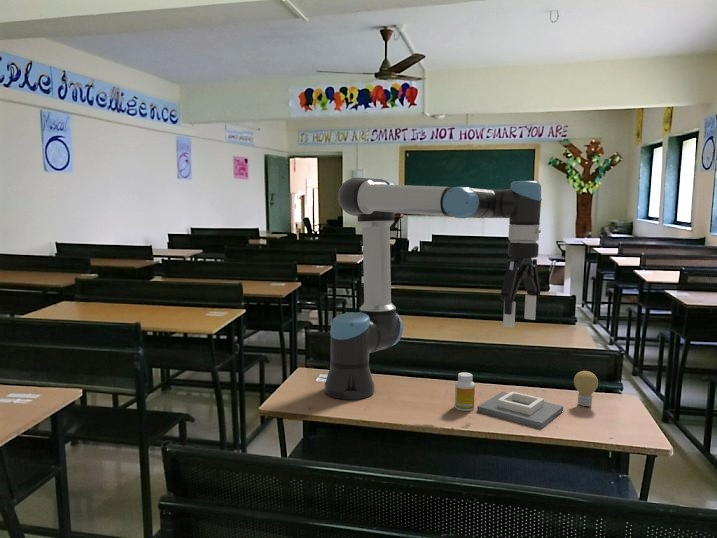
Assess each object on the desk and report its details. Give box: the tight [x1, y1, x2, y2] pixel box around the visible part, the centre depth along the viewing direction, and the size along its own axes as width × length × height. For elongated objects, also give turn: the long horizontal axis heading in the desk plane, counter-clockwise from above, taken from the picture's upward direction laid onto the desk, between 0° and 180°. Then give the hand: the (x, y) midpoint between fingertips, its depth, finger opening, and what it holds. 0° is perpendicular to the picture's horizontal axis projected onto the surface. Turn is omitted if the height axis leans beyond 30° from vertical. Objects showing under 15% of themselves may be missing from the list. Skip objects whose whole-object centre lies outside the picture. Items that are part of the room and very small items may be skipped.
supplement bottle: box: [454, 371, 476, 412], centre depth 150 cm, size 5×5×10 cm
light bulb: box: [573, 370, 599, 407], centre depth 154 cm, size 6×6×10 cm
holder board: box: [476, 391, 564, 430], centre depth 148 cm, size 18×16×4 cm
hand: (519, 322), depth 141 cm, fingers open, 13 cm apart
